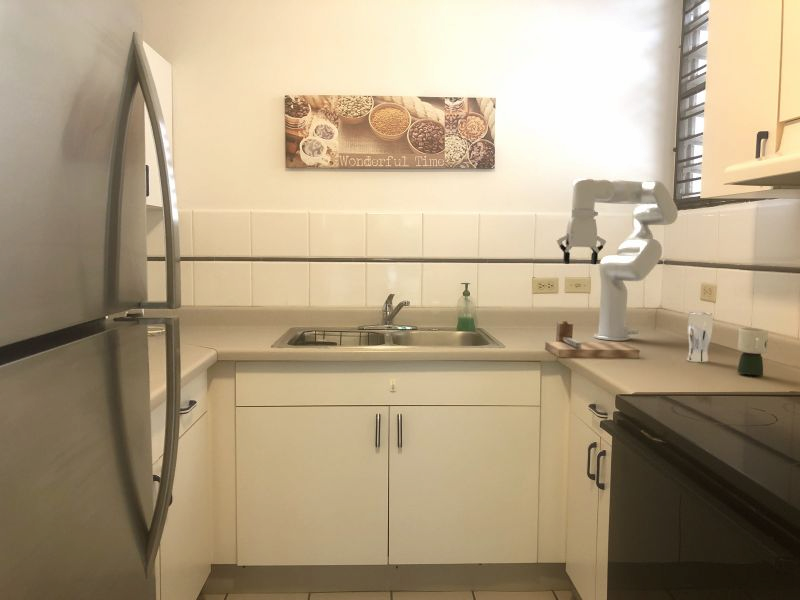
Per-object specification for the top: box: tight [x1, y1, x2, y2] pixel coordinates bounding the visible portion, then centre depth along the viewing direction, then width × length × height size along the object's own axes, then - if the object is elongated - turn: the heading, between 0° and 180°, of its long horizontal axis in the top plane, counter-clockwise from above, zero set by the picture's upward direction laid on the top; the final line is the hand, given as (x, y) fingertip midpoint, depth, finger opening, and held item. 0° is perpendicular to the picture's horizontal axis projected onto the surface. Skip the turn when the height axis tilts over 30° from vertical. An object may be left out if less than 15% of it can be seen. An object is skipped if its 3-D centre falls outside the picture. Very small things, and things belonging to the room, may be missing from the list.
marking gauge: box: [555, 319, 582, 347], centre depth 205 cm, size 4×15×9 cm, turn 4°
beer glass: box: [686, 311, 714, 364], centre depth 194 cm, size 7×7×15 cm
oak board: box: [544, 341, 640, 359], centre depth 203 cm, size 26×14×3 cm, turn 94°
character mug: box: [737, 327, 769, 377], centre depth 175 cm, size 11×7×13 cm, turn 166°
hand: (580, 263), depth 220 cm, fingers open, 9 cm apart
